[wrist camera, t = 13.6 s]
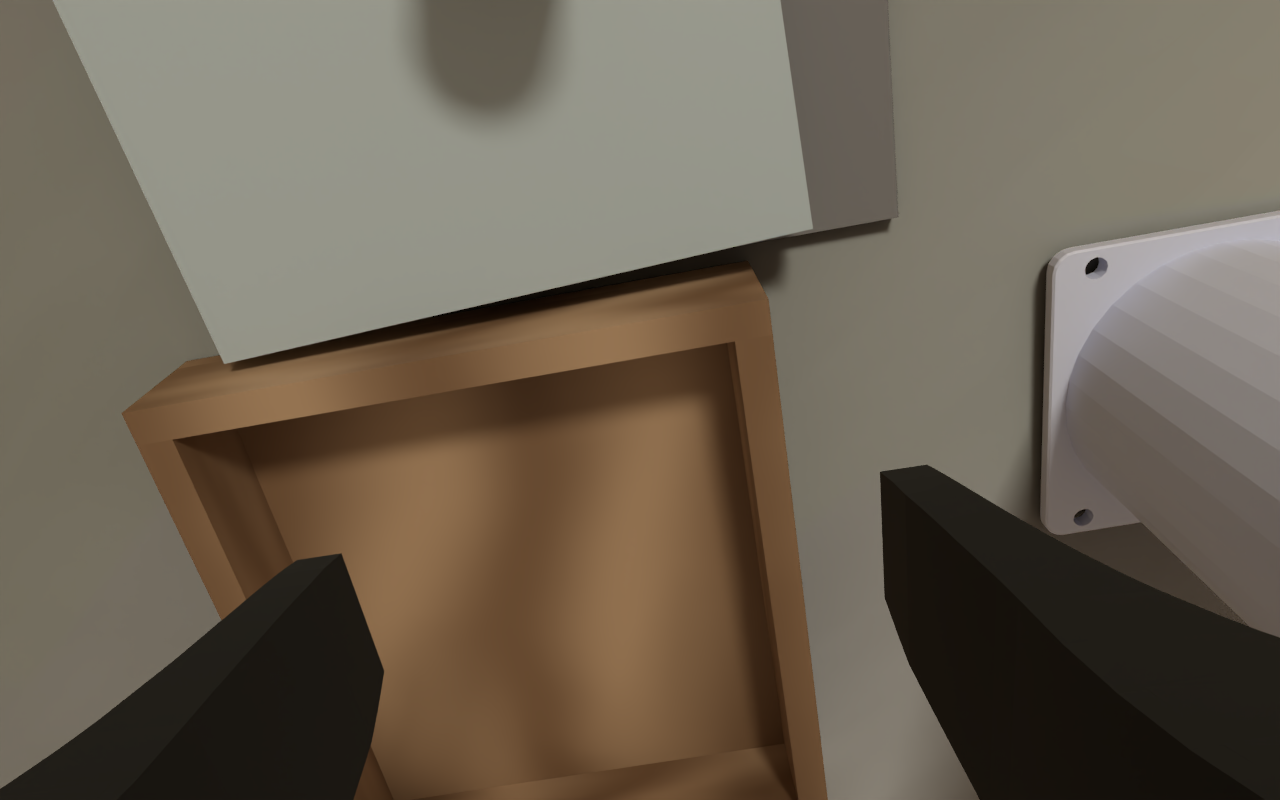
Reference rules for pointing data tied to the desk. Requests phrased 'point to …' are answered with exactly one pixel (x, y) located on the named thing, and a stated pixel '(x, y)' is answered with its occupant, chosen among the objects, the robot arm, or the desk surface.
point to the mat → (843, 109)
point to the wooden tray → (529, 536)
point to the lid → (439, 147)
